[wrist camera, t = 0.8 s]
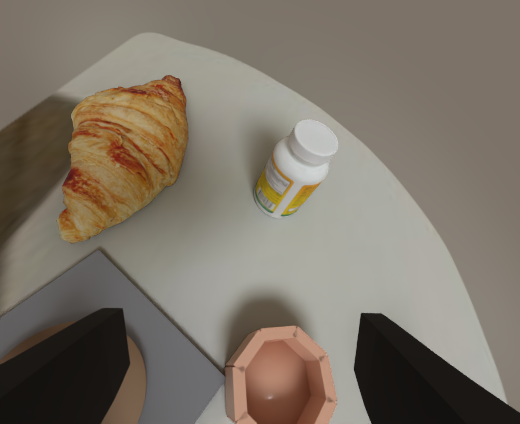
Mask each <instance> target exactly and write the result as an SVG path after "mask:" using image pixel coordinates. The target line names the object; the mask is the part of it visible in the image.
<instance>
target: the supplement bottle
mask: <svg viewBox="0 0 520 424" xmlns="http://www.w3.org/2000/svg"><path fill="white" fill-rule="evenodd" d="M337 149H338V141H337V138H336V136H335V134H334V133H333V132H332V130H331V129H329V128H328V127H327V126H326V125H324V124H322V123H321V122H318V121H315V120H310V119H306V120H301V121H299V122H298V123H297V124H296V125H295V127H294V128H293V130H292V132H291V134H290V136H287V137H285V138H283V139H281V140H280V141H279V142H278V143H277V145H276V146H275V148H274V150H273V152H272V154H271V156H270V158H269V160H268V162H267V164H266V166H265V168H264V170H263V172H262V174H261V176H260V178H259V180H258V182H257V184H256V186H255V190H254V197H255V201H256V203H257V205H258V206H259V208H260V209H261V210H262V211H263V212H264V213H266V214H268V215H269V216H272V217H275V218H286V217H289V216H291V215H293V214H294V213H295V212H296V211H297V210H298V209H299V208H300V207H301V205H302V204H303V203H304V202H305V201H306V200H307V198H308V197H309V196H310V195H311V194H312V192H313V191H314V190H315V189H316V188H317V187H318V185H319V184H320V183H321V182H322V181H323V179H324V178H325V177H326V175H327V173H328V170H329V161H330V160H331V158H332V157H333V155H334V154H335V153H336V151H337Z"/></svg>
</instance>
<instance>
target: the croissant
mask: <svg viewBox="0 0 520 424" xmlns="http://www.w3.org/2000/svg"><path fill="white" fill-rule="evenodd" d="M185 107H186V97H185V95H184V93H183V90H182V87H181V81H180V79H178V78H175V77H173V76H171V75H167V76H165V77H164V78H163V79H162V80H154V81H151V82H149V83H146V84H145V85H143V86H133V87H130V88H123V87H118V88H112V89H108V90H105V91H101V92H97V93H95V95H93V96H89V97H87V98H85V99H84V100H83V101H82V102H81V103H79V104H78V105H77V106H76V108H75V109H74V111H73V112H72V114H71V118H72V120H73V127H74V132H73V133H72V135H73V138H72V141H71V142H69V146H68V150H69V153H70V154H71V171H70V172H69V174H68V176H67V178H66V180H65V182H64V183H63V185H62V189H63V193H64V194H65V196H64V201H63V203H64V204H65V205H66V206H67V209H65V210H64V211H63V212H62V213H61V214H60V216H59V218H58V219H57V220H56V221H57V223H58V226H59V232H60V237H61V239H62V240H66V241H68V242H70V243H77V242H81V241H85V240H88V239H90V237H91V236H95V235H97V234H100V232H101V231H102V230H105V229H107V228H109V227H111V226H113V225H116V224H118V223H121V222H123V221H124V220H126V219H127V218H129V217H130V216H131V215H132V214H134V213H135V212H137V211H139V210H141V209H142V208H143V207H144V206H146V205H148V204H149V203H150V202H152V200H153V199H154V198H155V197H156V196H157V195H158V194H159V193H160V192H161V191H162V190H163V188H164V187H165V186H170V185H173V184H174V183H175V182H176V180H177V178H178V175H179V172H180V168H181V165H182V161H183V157H184V153H185V149H186V145H187V141H188V123H187V119H186V113H185Z"/></svg>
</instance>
